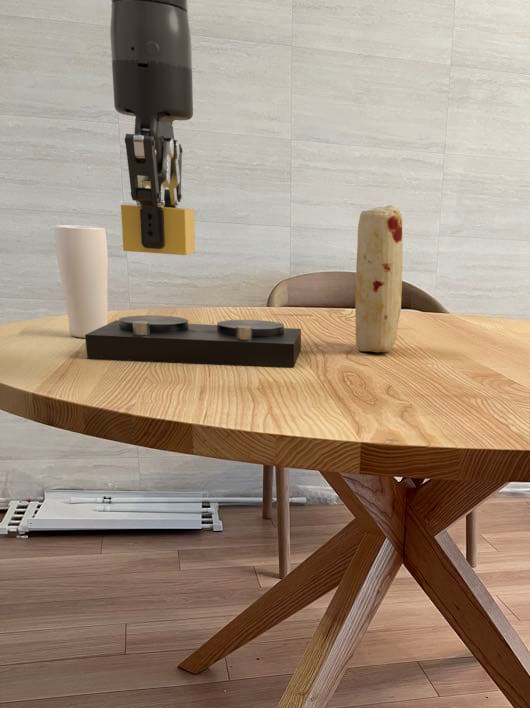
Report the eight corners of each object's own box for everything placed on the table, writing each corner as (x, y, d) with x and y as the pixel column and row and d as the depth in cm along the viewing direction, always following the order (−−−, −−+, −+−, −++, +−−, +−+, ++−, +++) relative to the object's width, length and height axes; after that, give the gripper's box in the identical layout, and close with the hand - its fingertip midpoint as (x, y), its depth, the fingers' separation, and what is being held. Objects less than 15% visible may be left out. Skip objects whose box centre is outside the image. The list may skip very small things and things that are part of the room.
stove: (87, 358, 104) (83, 321, 103) (117, 341, 117) (114, 308, 115) (293, 367, 106) (293, 331, 104) (300, 350, 119) (301, 317, 117)
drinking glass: (61, 339, 117) (50, 226, 111) (68, 332, 123) (57, 224, 117) (112, 340, 118) (103, 228, 113) (116, 333, 124) (107, 227, 119)
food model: (402, 357, 117) (410, 206, 110) (356, 355, 117) (360, 203, 109) (395, 346, 126) (402, 206, 119) (352, 344, 126) (356, 203, 118)
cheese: (123, 250, 85) (120, 204, 83) (135, 248, 89) (133, 204, 87) (186, 255, 85) (184, 209, 83) (195, 252, 89) (194, 209, 88)
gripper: (132, 70, 87) (141, 241, 93) (90, 46, 74) (103, 247, 80) (204, 76, 87) (208, 246, 94) (175, 53, 74) (181, 253, 80)
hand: (159, 246), depth 87 cm, fingers closed on cheese, 4 cm apart
